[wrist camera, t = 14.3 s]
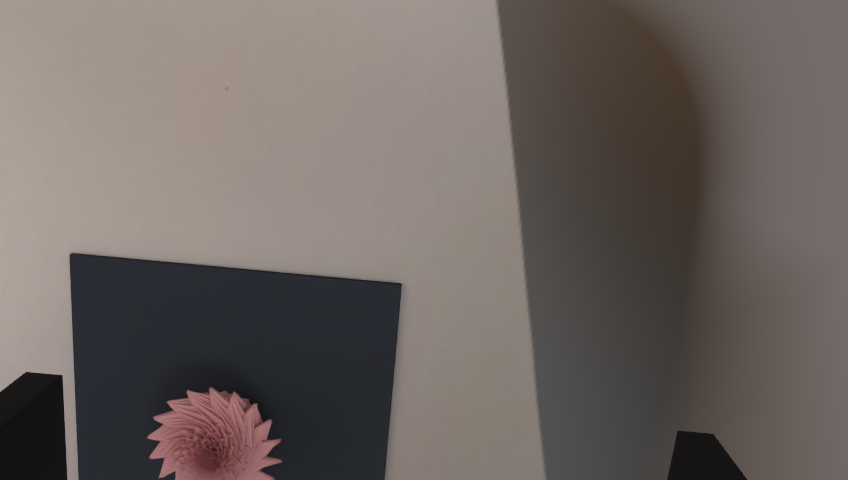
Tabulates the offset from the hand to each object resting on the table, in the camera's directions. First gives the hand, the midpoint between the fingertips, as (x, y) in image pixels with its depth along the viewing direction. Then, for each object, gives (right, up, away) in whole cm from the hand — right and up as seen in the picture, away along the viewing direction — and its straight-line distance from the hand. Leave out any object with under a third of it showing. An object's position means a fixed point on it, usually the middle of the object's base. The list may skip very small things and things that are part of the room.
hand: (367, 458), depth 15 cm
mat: (-11, -7, +30) cm, 32 cm away
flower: (-11, -7, +29) cm, 32 cm away
